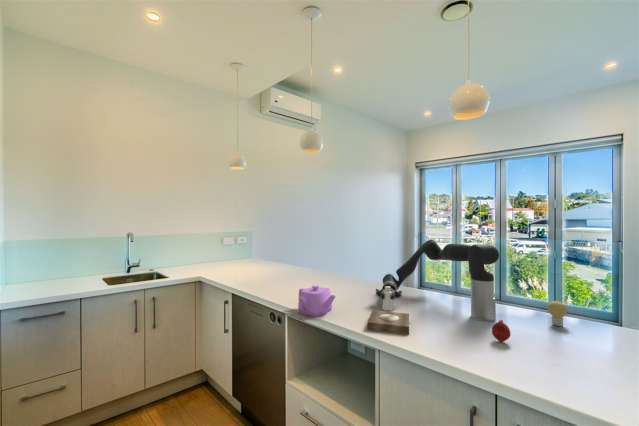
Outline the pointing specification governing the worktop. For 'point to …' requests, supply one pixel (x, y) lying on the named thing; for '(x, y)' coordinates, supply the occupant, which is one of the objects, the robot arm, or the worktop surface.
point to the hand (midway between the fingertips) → (387, 297)
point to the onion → (501, 331)
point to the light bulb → (557, 312)
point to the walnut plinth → (389, 322)
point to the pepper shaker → (387, 299)
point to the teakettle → (315, 301)
